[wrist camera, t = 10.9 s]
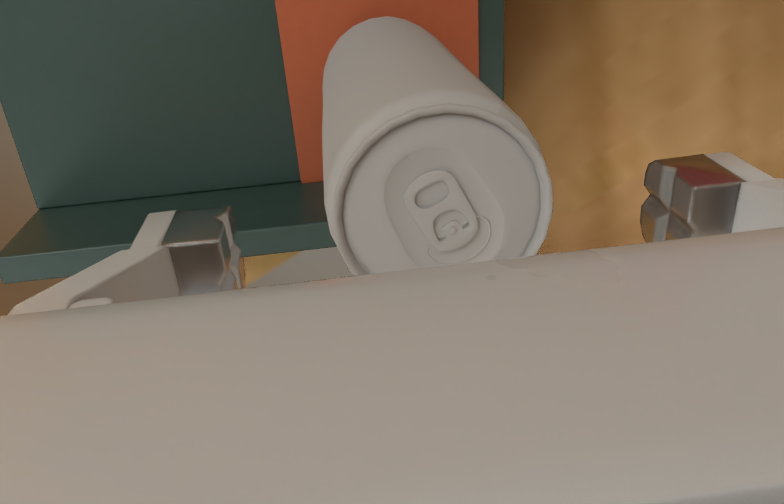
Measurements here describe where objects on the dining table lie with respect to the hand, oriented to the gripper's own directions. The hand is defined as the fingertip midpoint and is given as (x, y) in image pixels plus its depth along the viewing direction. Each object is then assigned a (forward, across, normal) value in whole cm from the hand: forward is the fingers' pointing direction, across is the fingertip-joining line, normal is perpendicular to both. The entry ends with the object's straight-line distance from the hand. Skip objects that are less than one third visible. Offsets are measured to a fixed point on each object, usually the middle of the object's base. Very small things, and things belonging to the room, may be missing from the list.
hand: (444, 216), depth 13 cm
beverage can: (+13, 0, 0) cm, 13 cm away
